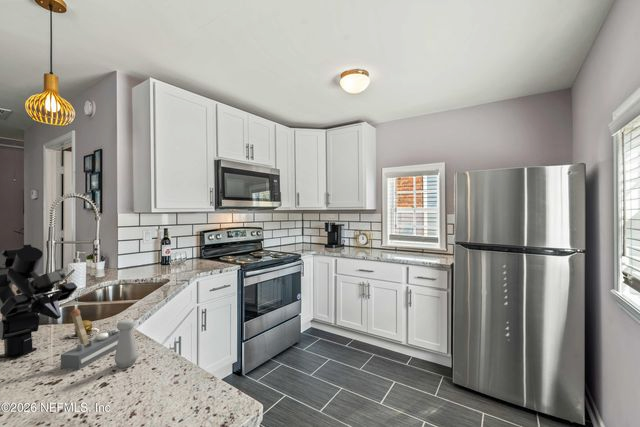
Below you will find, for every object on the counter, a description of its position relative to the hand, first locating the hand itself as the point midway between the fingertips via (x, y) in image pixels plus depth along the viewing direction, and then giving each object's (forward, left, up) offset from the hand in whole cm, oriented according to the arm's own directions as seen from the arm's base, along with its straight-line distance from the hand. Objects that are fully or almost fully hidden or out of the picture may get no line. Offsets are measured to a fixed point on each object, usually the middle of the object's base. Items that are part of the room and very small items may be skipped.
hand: (58, 317), depth 93 cm
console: (+9, +4, -13) cm, 16 cm away
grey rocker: (+9, +11, -8) cm, 16 cm away
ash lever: (+9, 0, -8) cm, 12 cm away
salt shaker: (+23, -1, -13) cm, 27 cm away
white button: (+9, +6, -8) cm, 14 cm away
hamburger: (-11, +19, -14) cm, 26 cm away
